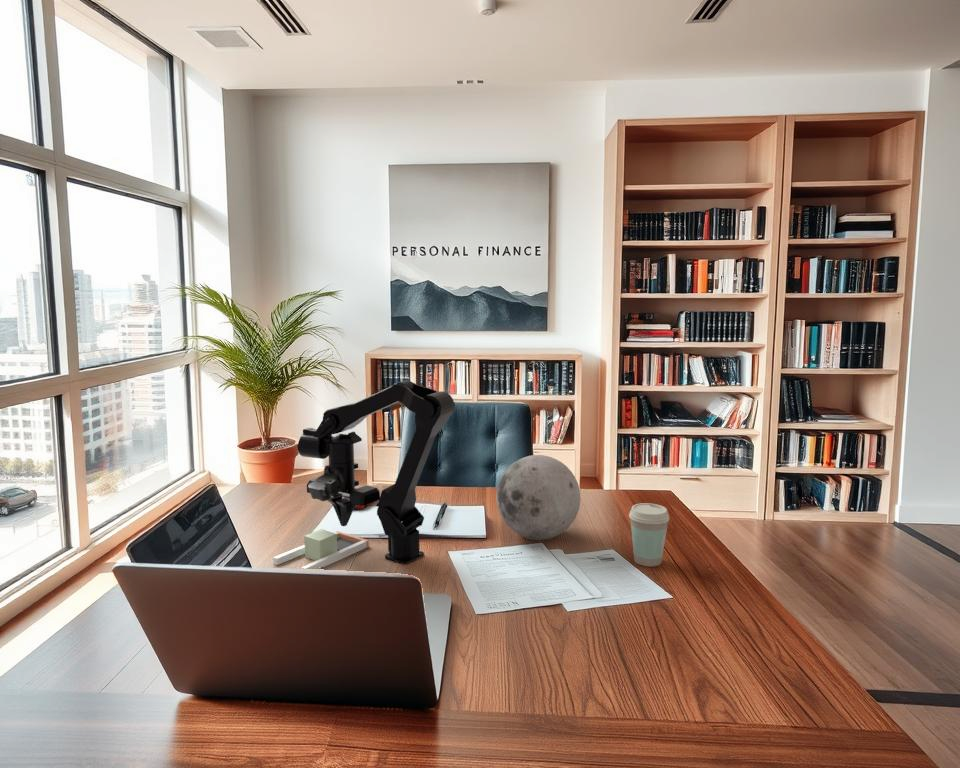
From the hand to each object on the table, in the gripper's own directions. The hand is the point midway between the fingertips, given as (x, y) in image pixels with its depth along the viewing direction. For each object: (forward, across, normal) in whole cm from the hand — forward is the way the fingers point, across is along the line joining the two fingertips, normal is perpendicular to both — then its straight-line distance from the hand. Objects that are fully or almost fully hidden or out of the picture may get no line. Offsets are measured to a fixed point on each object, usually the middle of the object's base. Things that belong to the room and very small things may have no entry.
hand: (344, 525), depth 150 cm
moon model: (+5, +35, +30) cm, 46 cm away
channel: (+5, 0, -7) cm, 8 cm away
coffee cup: (+5, +62, +31) cm, 69 cm away
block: (+5, 0, -7) cm, 9 cm away
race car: (+5, -19, +25) cm, 32 cm away
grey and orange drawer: (+5, 0, 0) cm, 5 cm away
